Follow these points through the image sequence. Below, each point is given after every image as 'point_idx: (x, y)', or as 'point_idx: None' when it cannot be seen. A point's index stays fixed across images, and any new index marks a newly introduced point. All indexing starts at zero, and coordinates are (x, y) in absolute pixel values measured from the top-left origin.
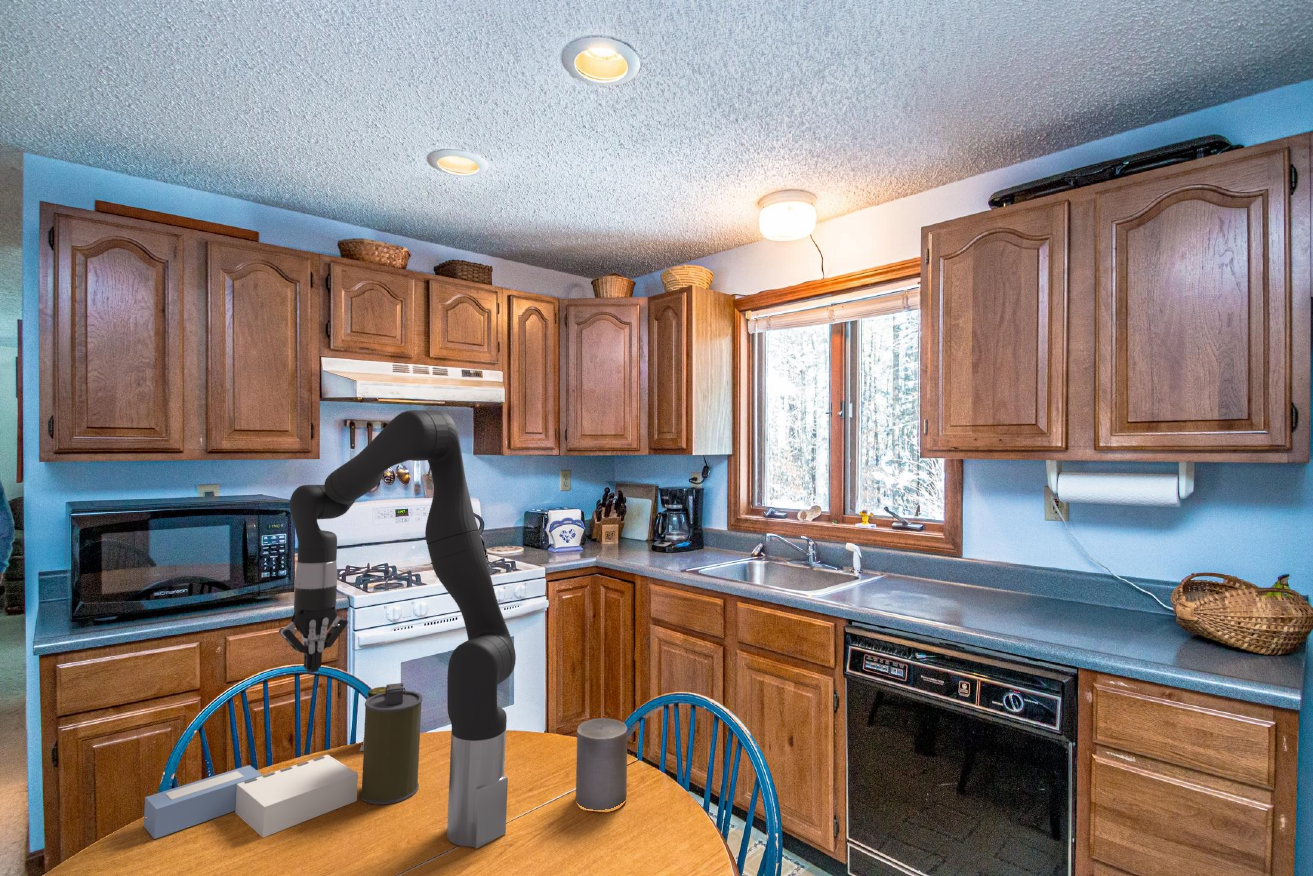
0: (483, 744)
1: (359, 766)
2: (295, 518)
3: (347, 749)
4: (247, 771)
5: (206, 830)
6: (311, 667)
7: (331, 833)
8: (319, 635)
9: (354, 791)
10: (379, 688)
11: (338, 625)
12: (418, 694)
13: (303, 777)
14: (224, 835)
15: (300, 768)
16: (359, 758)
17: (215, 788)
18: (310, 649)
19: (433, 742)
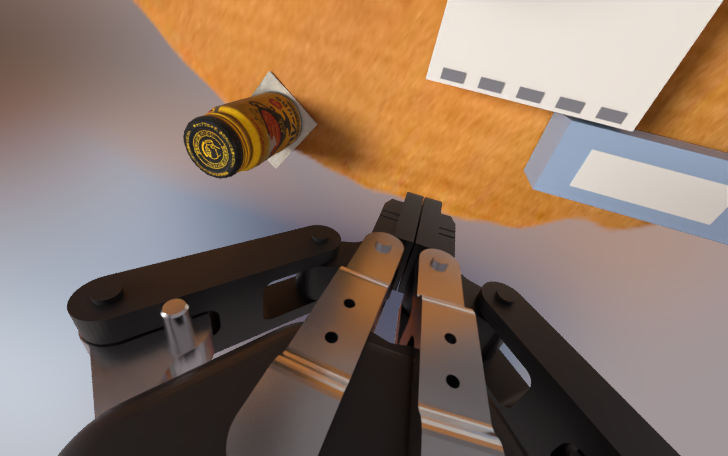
0: None
1: (356, 66)
2: None
3: (323, 152)
4: (563, 166)
5: (691, 103)
6: (440, 211)
7: None
8: (375, 318)
9: None
10: (205, 164)
11: (176, 307)
12: None
13: (558, 6)
14: (712, 44)
15: (512, 68)
16: (334, 99)
17: (666, 154)
18: (448, 273)
19: (205, 17)
